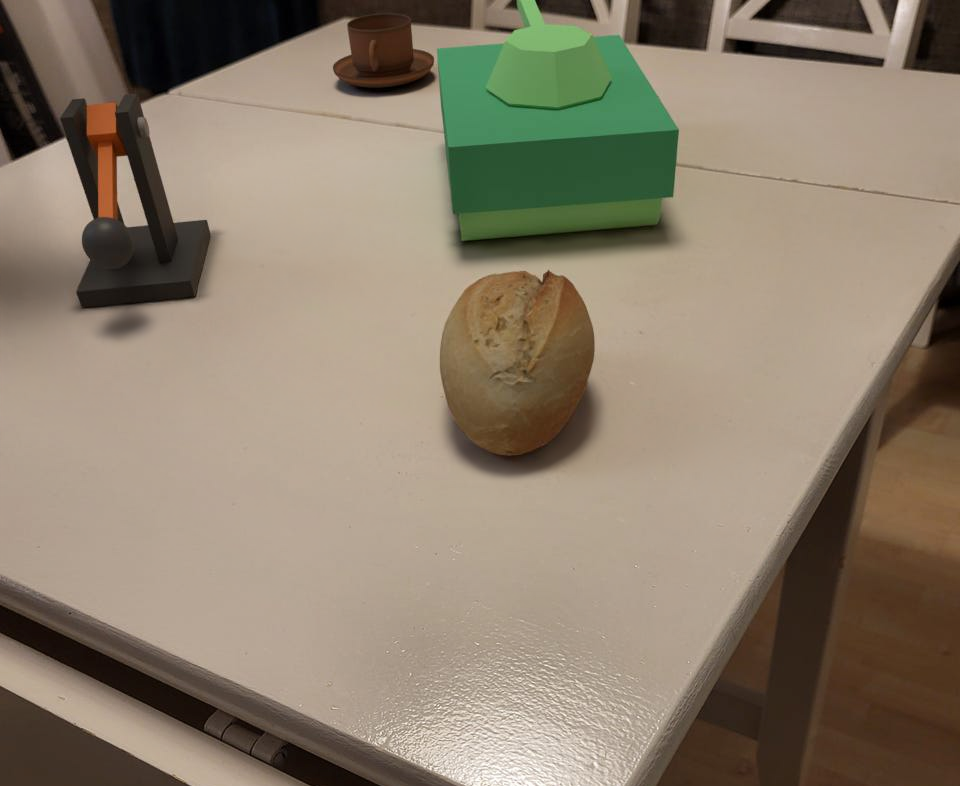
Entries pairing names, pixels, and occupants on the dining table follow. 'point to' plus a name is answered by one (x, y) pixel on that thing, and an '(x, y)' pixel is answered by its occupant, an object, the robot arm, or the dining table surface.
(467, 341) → the bread roll
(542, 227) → the toy tank
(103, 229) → the pendulum
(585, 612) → the dining table surface
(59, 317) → the dining table surface
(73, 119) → the stand with upright posts
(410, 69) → the cup and saucer
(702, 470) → the dining table surface
